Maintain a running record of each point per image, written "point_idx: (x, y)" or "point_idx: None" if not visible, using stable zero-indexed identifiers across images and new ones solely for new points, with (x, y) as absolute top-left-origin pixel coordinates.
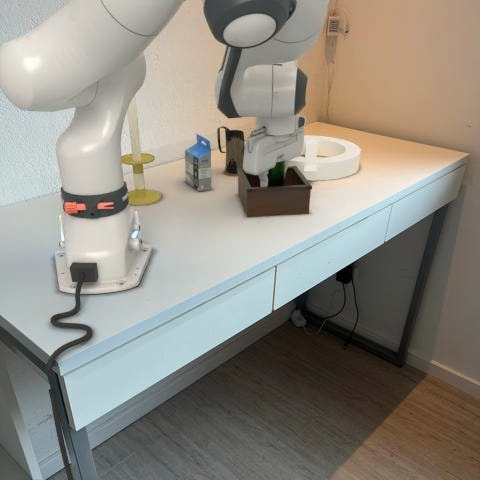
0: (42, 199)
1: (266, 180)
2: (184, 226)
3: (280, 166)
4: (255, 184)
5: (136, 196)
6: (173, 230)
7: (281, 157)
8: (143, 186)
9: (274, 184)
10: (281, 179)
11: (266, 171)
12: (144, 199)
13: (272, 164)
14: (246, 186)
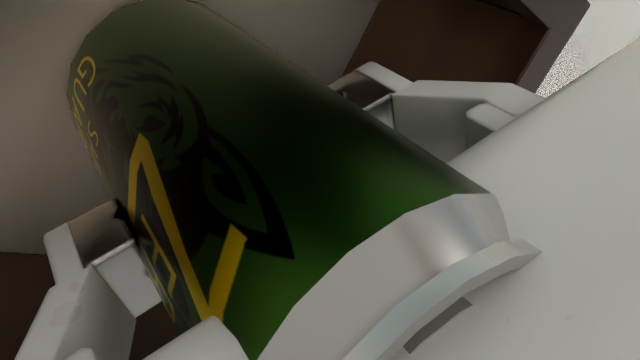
0: None
1: (428, 80)
2: (597, 28)
3: (378, 159)
4: None
5: None
6: (630, 14)
7: (464, 264)
8: None
9: (301, 70)
10: (245, 84)
11: (518, 112)
12: None
13: (547, 144)
14: (550, 63)
